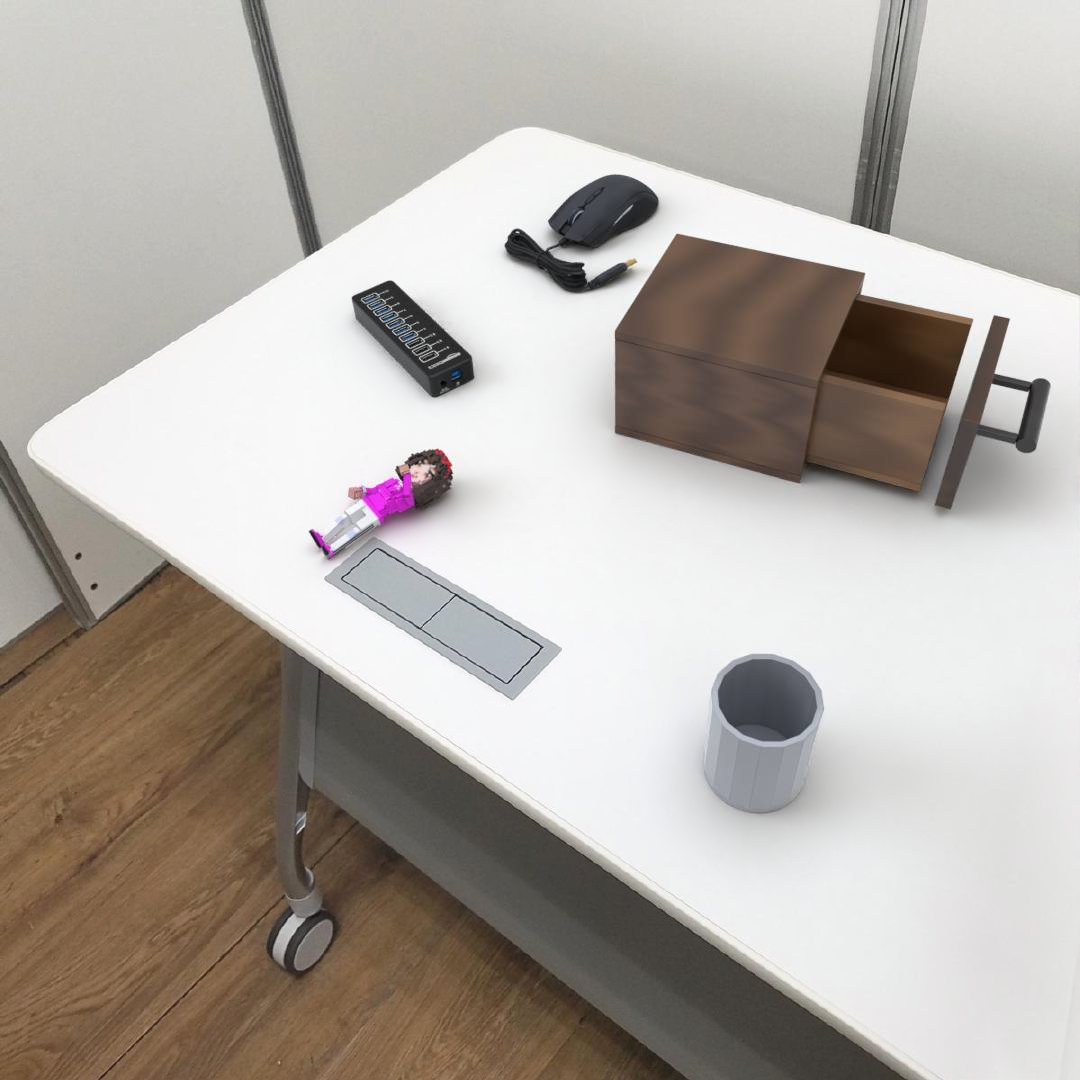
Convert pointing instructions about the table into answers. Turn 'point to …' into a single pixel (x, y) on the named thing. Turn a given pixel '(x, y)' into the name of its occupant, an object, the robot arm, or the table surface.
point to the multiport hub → (413, 338)
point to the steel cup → (761, 731)
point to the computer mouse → (589, 227)
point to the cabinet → (730, 353)
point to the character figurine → (389, 498)
